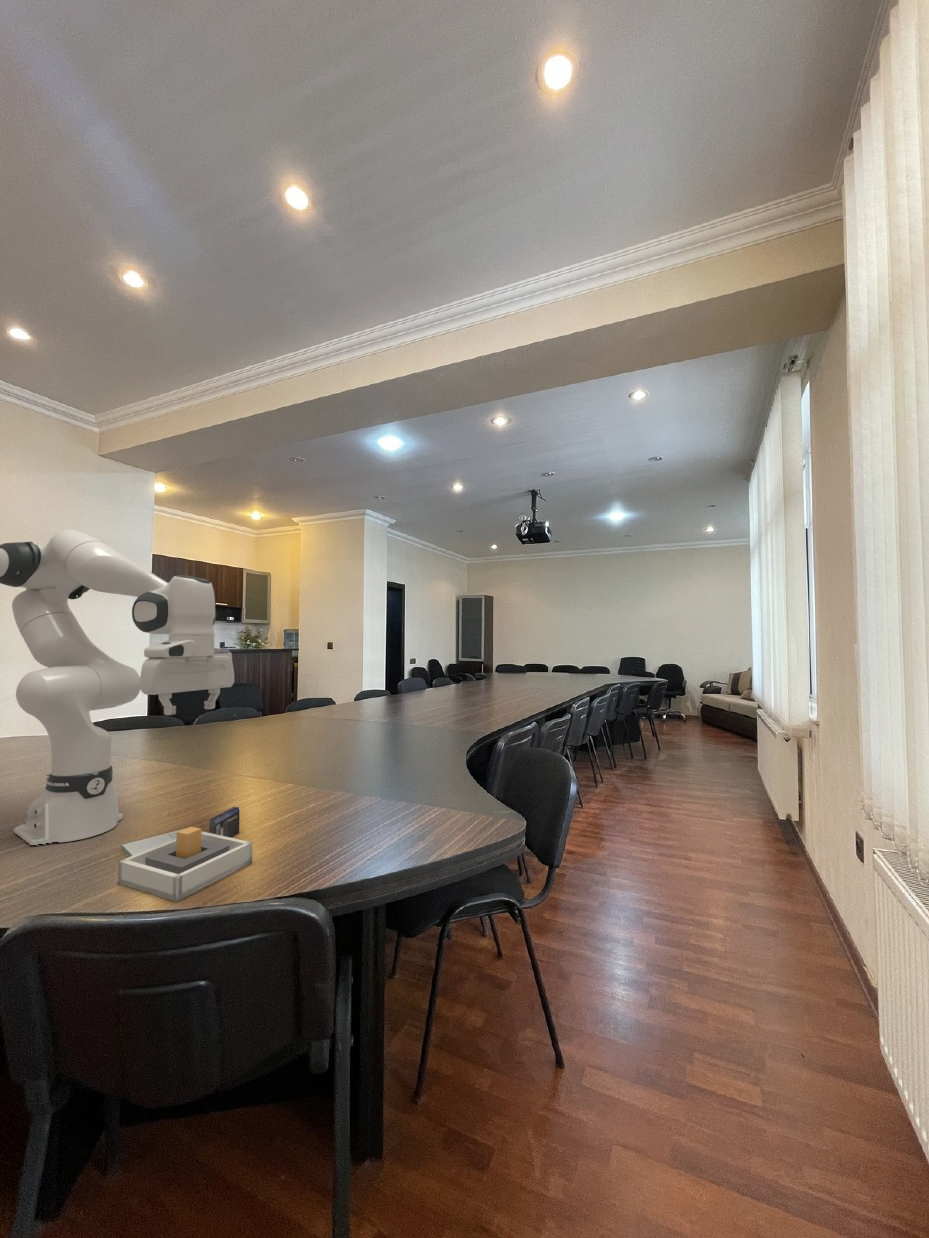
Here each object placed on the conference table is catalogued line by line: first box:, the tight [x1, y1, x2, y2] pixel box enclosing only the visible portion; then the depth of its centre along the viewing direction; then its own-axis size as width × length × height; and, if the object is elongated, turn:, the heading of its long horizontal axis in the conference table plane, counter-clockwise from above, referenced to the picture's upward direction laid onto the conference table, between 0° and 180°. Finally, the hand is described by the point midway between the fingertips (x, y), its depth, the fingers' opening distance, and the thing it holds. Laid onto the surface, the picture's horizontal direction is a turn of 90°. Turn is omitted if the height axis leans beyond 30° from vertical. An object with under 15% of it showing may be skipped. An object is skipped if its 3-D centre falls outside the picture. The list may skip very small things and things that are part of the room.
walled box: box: [117, 831, 253, 903], centre depth 93 cm, size 16×16×4 cm
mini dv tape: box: [208, 806, 240, 838], centre depth 109 cm, size 8×2×6 cm, turn 170°
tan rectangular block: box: [176, 826, 203, 859], centre depth 93 cm, size 3×3×7 cm
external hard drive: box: [120, 828, 184, 858], centre depth 106 cm, size 2×8×12 cm
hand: (190, 711), depth 106 cm, fingers open, 8 cm apart
